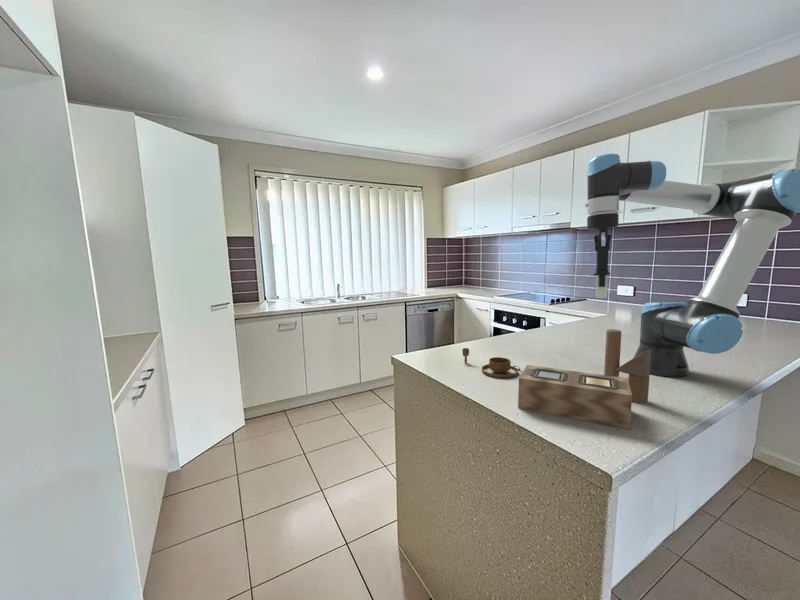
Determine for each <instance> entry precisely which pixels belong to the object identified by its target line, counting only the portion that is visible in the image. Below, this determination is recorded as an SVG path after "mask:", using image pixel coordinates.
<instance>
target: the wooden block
mask: <svg viewBox="0 0 800 600" xmlns="http://www.w3.org/2000/svg"><path fill="white" fill-rule="evenodd" d="M621 345H622V330H620V329H614V328H610V329H606V335H605V352H604V368H603V369H604V370H603V375H607V376H614V377H620V373H623V374H627V375H628V382H629V385H630V389H631V393H632V402H634V403H637V404H641V405H642V404H644V403H647V402H648V401H649V390H650V389H649V388H650V375H651V374H650V364H651V350H648V351H644V352H643V353H641V354H639V355H638V356H636V357H635V358H633V357H632V358H631V359H630V360H628V361H626V362H625V363H624V364H622V365H621V366H620V363H621V347H622V346H621Z"/></svg>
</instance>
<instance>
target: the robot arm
mask: <svg viewBox="0 0 800 600" xmlns="http://www.w3.org/2000/svg"><path fill="white" fill-rule="evenodd" d="M666 176H667V166H666V165H665V164H664V162H662V161H659V160H647V161H634V162H630V161H629V162H621V158H620V155H619V154H618V153H606V154H602V155H597V156H594V157H593V158H591V159H590V160H589V162H588V164H587V175H586V177H587V203H585V205H584V207H585V208H587V215H589V216H587V217H586V218H587V219H586V220H587V221H586V227H587V230H589V231H591V230H593V231H594V230H597V232H596V233H597V234H596V235H594V236H593V241H594V251H595V252H596V267H595V268H596V269H595V272H594V273H593V276H595V277H596V279H595V298H596V299H608V275H610V274H611V273H610V271H609V251H610V249H611V247H610V246H611V240H612V234H609V233H608V232H609V231H608V230H609V229H614V228H618V226H619V220H620V219H619V218H620V216H619V213H617V212H618V211H620V201H622V202H628V203H635V204H636V203H637V204H642V205H643V204H645V205H652V206H661V207H667V208H674V209H675V208H676V209H683V210H691V212H693V213H694V214H696V215H702V216H703V215H704V216H710V217H717V218H725V219H733V220H734V219H735V220H736V222H737V223H736V225H735V226H734V227H733V228H734V229H733V230H732V232H731V234H730V236H729V238H728V240H727V241H726V243H725V246H724V247H723V249H722V250H721V252H720V255H719V256H718V258H717V260H716V262H715V264H714V265H713V267H712V269H711V271H710V273H709V275H708V277H707V278H706V280H705V282H704V284H703V286H702V288H701V290H700V292H699V293H698V295H697V296H695V297H692V298H689V299H688V301H687V302H684V301H682V302H681V301H678V302H674V301H673V302H672V301H671V302H668V301H667V302H646V303H644V304H643V305H642V307H641V313H640V328H639V329H640V331H639V345H638V347H637V349H636V352H635V353H634V355H633V357H632V359H633V358H635V357H636V356H638V355H639V354H641V353H643V352H644V351H648V350H651V364H650V375H656V376H662V377H673V378H675V377H676V378H679V377H681V378H682V377H686V376H688V375H689V372H690V366H689V364H688V360H687V357H686V355H685V351H684V347H685V348H687V349H692V350H693V351H696V352H700V353H707V354H712V355H715V354H716V355H717V354H722V353H725V352H728V351H730V350H731V349H733V348H734V347H736V346H737V344H738V343H739V342H740V340H741V339H742V338H743V333H744V330H743V329H742V328H743V323H742V322H741V320H740V319H739V318H740V315H741V313H740V312H739V310H738V308H737V307H738V305H739V302H740V300H741V299H742V297H743V295H744V293H745V292H746V290H747V288H748V286H749V284H750V282H751V280H752V279H753V277H754V275H755V273H756V272H757V270H758V268H759V266H760V264H761V262H762V260H763V258H764V257H765V255H766V253H767V252H768V250H769V248H770V246H771V245H772V242H773V241H774V239H775V237H776V235H777V234H778V232H779V230H780V229H782V228H785V227H787V226H790V225H791V223H792V222H793V219H794V218H795V216H796V215H797V213H800V167H799V168H796V167H795V168H790V169H780V170H777V171H775V172H773V173H766V174H762V175H758V176H753V177H749V178H744V179H739V180H736V181H731V182H729V181H728V182H724V183H715V182H708V183H705V184H696V183H687V182H680V181H679V182H678V181H672V180H666Z"/></svg>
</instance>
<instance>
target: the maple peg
mask: <svg viewBox="0 0 800 600" xmlns="http://www.w3.org/2000/svg"><path fill="white" fill-rule="evenodd" d="M586 383H589V384H595V385H602V386H609V387H610V382H609V380H603V379H595V378H588V377H586Z"/></svg>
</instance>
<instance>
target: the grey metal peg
mask: <svg viewBox="0 0 800 600" xmlns="http://www.w3.org/2000/svg"><path fill="white" fill-rule="evenodd" d="M538 376H541V377H548V378H555V379H560V374H559V373H552V372H545V371H540V372H539V374H538Z"/></svg>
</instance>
